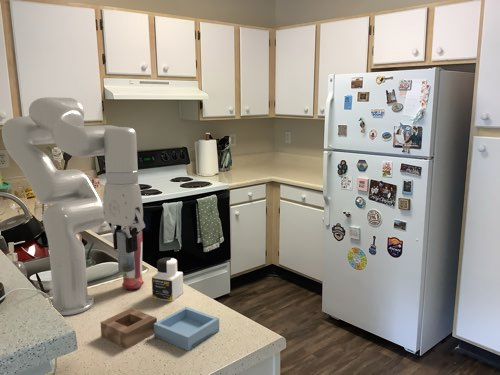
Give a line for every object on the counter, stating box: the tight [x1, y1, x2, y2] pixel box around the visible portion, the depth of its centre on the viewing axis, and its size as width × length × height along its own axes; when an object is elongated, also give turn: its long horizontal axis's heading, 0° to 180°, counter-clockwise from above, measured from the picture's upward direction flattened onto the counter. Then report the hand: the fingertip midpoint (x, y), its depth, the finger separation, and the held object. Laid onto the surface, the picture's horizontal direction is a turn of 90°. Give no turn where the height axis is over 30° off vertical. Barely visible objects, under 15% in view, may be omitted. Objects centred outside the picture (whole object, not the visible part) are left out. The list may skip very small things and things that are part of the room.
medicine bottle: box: [151, 257, 184, 302], centre depth 139 cm, size 7×7×12 cm
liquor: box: [122, 227, 145, 291], centre depth 143 cm, size 7×7×28 cm
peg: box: [116, 228, 135, 273], centre depth 112 cm, size 4×4×10 cm
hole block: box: [100, 307, 158, 349], centre depth 116 cm, size 10×10×4 cm
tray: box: [153, 306, 220, 352], centre depth 116 cm, size 12×12×4 cm
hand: (125, 249), depth 112 cm, fingers closed on peg, 4 cm apart
